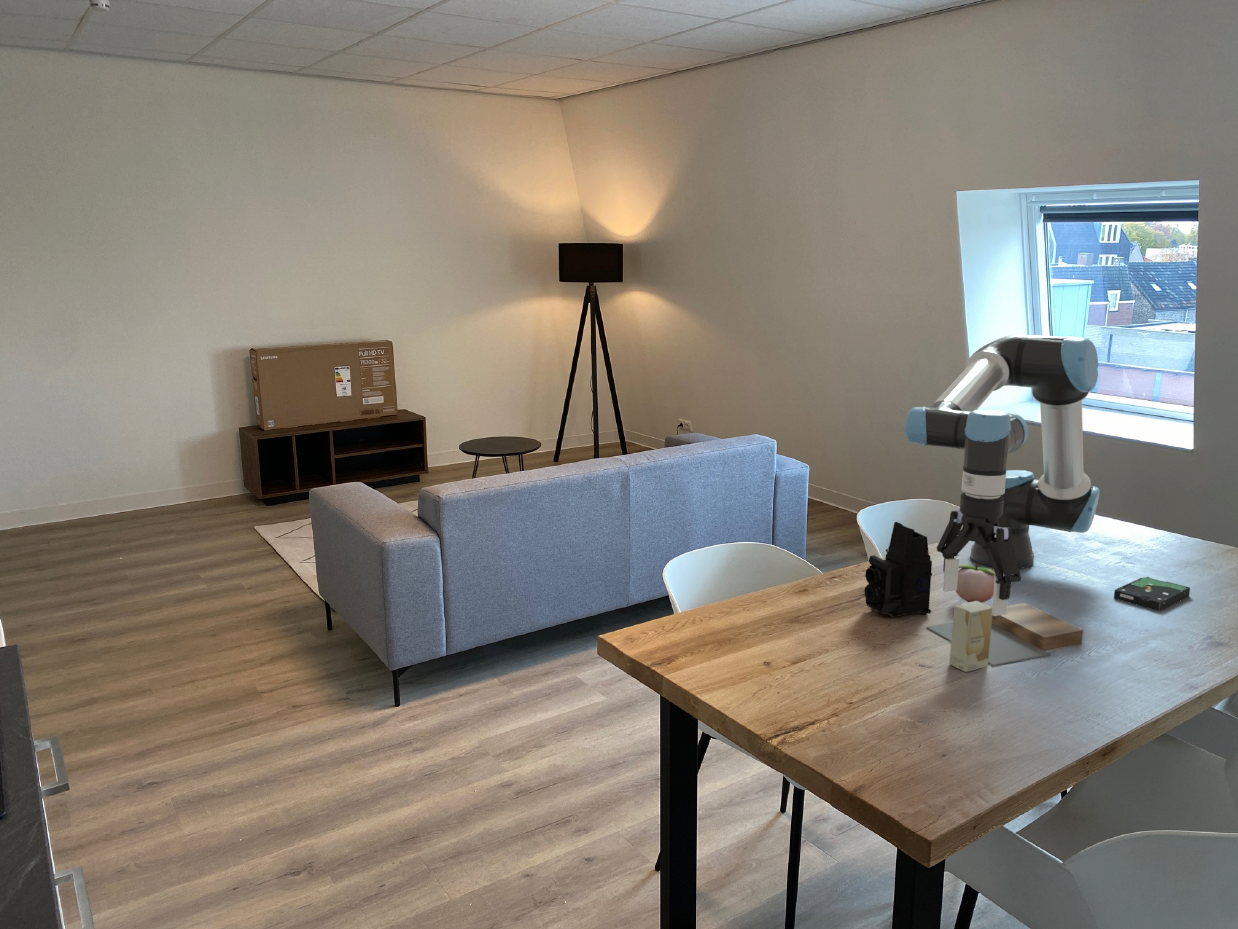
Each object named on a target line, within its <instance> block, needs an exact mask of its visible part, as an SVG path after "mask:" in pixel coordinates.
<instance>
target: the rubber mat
mask: <svg viewBox="0 0 1238 929" xmlns="http://www.w3.org/2000/svg"><path fill="white" fill-rule="evenodd" d="M926 628H927V630H929V631H931V632H933V633H935V634H937V635H938V636H940V637H942V638H943V639H945V640H947V641H949V642H950V643H951V639H952V628H953V621H952V622H947V623H940V624H935V625H930V626H929V625H928V626H926ZM1048 656H1051V653H1050V652H1048V651H1044V650H1042V649H1040V648H1038V647H1036V646H1035V645H1033V644H1031V643H1029V642H1027V641H1025V640H1023V639H1021V638H1019V637H1017V636H1015V635H1013V634H1011V633H1010V632H1008V631H1006V630H1004V629H1002V628H1000V627H998V626H996V625H994V624H992V626H991V636H990V647H989V657H988V665H990V666H992V667H996V666H1002V665H1005V664H1006V665H1007V664H1011V663H1016V662H1017V663H1018V662H1022V661H1027V660H1033V659H1037V658H1043V657H1044V658H1045V657H1048Z"/></svg>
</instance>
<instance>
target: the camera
mask: <svg viewBox="0 0 1238 929" xmlns="http://www.w3.org/2000/svg"><path fill="white" fill-rule="evenodd" d="M891 531H892V533H891V537H890V541H889V546H888V548H886V549H885V552H886V554H885V559H882V558H880V557H879V556H876V555H875V554H874V555H870V556H869V559H868V562H869V567H867V568H866V570H865V576H864V577H865V580H866V582H867V583H868V584H866V586H865V588H864V596H865V605H866V606H867V607H868V608H870V609H872V610H873V611H874V612H875V611H876V612H877V613H879V614H881V615H885V614H887V615H889V616H890V617H892V618H895V617H899V616H900V617H903V616H905V615H909V614H916V613H921V614H923V615H924V616H926V615H927V614H928V615H929V614H931V613H932V610H931V609H930V596H931V581H932V576H933V573H932V568H933V561H932V560H931V555H930V554H929V545H928V544H929V543H928V537H927V536H926V535H923V534H922V533H919V532H918V531H917V532H916V531H915V529H912V528H911V527H907V526H905V525H903V524H902V523H901V522H898V521H894V523H893V527H892V530H891Z"/></svg>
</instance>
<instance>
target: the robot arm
mask: <svg viewBox="0 0 1238 929" xmlns="http://www.w3.org/2000/svg"><path fill="white" fill-rule="evenodd" d="M1098 368H1099V359H1098V352H1097V348H1096V346H1095V344H1094V343H1093V342H1092V341H1091V340H1090V339H1089V338H1086V337H1076V336H1073V335H1066V336H1058V335H1057V336H1056V335H1037V334H1034V335H1033V334H1013V335H1012V334H1011V335H1007V336H1004V337H1000V338H998V339H995V340H993V341H991V342H989V343H987V344H985V345H983V346H982V347H980V348H978V350H975V351H974V352H973V353H972V354H971V355H970V356H969V358H968V359H967V361H966V363H965V366H964V370H963V371H962V372H961V373H960V374H959V375H958V376H957V378H956V379H955V380H954V381H953V382H952V383H951V384H949V386H948V387H947V388H946V389H945V391H943V393H942V394H941V395H940V396H939V397H937V399H936V400H935V401H934V402H933V403H932V404H931V405H930V407H927V406H916V407H911V409H910V410H909V411H908V413H907V415H906V418H905V422H904V431H905V432H904V433H905V437H906V440H907V441H908V442H910V443H912V444H915V445H922V446H924V447H927V446H928V447H937V448H938V447H939V448H946V449H955V450H956V449H957V450H963V461H962V462H963V465H962V477H961V478H962V479H961V491H962V493H961V494H960V501H959V509H958V510H952V511H951V512H950V514H949V521H948V523H947V526H945V527H946V528H945V530H943V531H944V532H943V534H942V535H941V538H940V540H939V541H938V544H937V546H936V551H937V552H938V553H941V554H942V557H943V569H942V570H943V573H944V574H943V584H942V585H943V586H942V591H944V592H953V591H956V590H957V582H958V570H960V568H959V566H960V558H959V556H960V555H959V554H960V552H961V551H963V549H964V548H965V546H966V545H967V544H968V543H969V542H974V543H973V544H972V546H971V547H970V558H971V560H973V561H974V562H976V563H978V564H980V565H984V566H987V567H992V570H993V571H994V572H995V574H996V576H997V577H996V576H995V577H996V581H994V592H993V596H992V605H991V607H992V615H993V616H999V615H1005V614H1006V612H1007V606H1008V602H1009V601H1008V600H1009V599H1010V596H1011V589H1012V583H1017V582H1021V581H1022V576H1021V575H1022V574H1021V571H1020V569H1025V568H1029V567H1031V566H1032V565H1033V564H1034V562H1035V561H1034V560H1035V553H1034V551H1033V546H1032V542H1031V538H1030V537H1031V536H1030V534H1029V533H1030V526H1033V527H1041V528H1045V529H1051V530H1055V531H1056V530H1057V531H1061V532H1062V531H1063V532H1068V533H1079V534H1082V533H1087V532H1088V531H1089V530H1090V528H1091V526H1092V524H1093V521H1094V517H1095V514H1096V511H1097V507H1098V502H1099V498H1100V492H1101V490H1100V488H1099V487H1097V486H1094V485H1092V481H1091V478H1090V477H1089V475H1087V473H1086V472H1084V440H1083V439H1084V436H1083V435H1084V434H1083V432H1084V431H1083V430H1084V429H1083V428H1084V427H1083V400H1085V399H1086V398H1087V396H1089V393H1090V392H1092V391H1093V390H1094V389H1095V387H1096V385H1097V381H1098V373H1099V369H1098ZM1005 386H1006V387H1007V386H1008V387H1010V386H1011V387H1021V388H1031V393H1032V394H1031V395H1032V397H1033V399H1034V400H1035V401H1036V402H1038V403H1039V405H1040V423H1041V441H1042V442H1041V443H1042V444H1041V445H1042V460H1043V474H1042V475H1041V476H1040V477H1039V478H1038V479H1037V478H1036V477H1035V476H1036V475H1034V473H1033V472H1032V471H1030V470H1022V469H1014V470H1013V469H1012V470H1011V469H1010V470H1009V469H1008V470H1007V467H1008V466H1007V465H1008V456H1009V454H1011V453H1014V452H1016V451H1018V450H1019V449H1020V448H1021V447H1022V446H1023V445H1024V443H1026V441H1027V439H1028V437H1029V426H1028V424H1027V422H1026V420H1025V419H1024V417H1022V416H1021V415H1019V414H1017V413H1014V412H1007V411H1002V410H999V409H998V410H995V409H979V408H980V407H981V406H982V405H983V403H985V401H986V400H987V399H988V398H989V396H990V395H991V394H992V393H994V391H997V390H1000V389H1002V388H1003V387H1005Z"/></svg>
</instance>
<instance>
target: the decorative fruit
mask: <svg viewBox="0 0 1238 929" xmlns="http://www.w3.org/2000/svg"><path fill="white" fill-rule="evenodd" d="M978 564H979V563H978V562H976V563H975V566H973V565H971V564H959V569H958V582H957V590H955V592H956V594H957V595H958V597H959V598H960V599H962V600H963V601H966V603H969V602H973V601H979V602H981V603H984V602H987V601H989V600H990V599H991V598H993V592H994V581H997V576H996V574H995V572H994V569H991V568H988V567H978Z"/></svg>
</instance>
